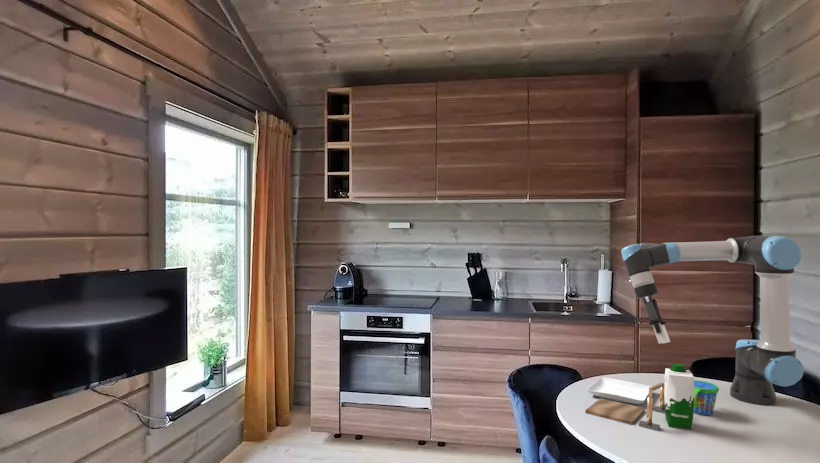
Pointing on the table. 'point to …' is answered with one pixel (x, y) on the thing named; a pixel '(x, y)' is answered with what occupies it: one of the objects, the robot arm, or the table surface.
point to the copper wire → (655, 408)
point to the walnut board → (615, 411)
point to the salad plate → (619, 390)
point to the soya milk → (679, 396)
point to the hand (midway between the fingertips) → (664, 342)
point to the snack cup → (704, 397)
